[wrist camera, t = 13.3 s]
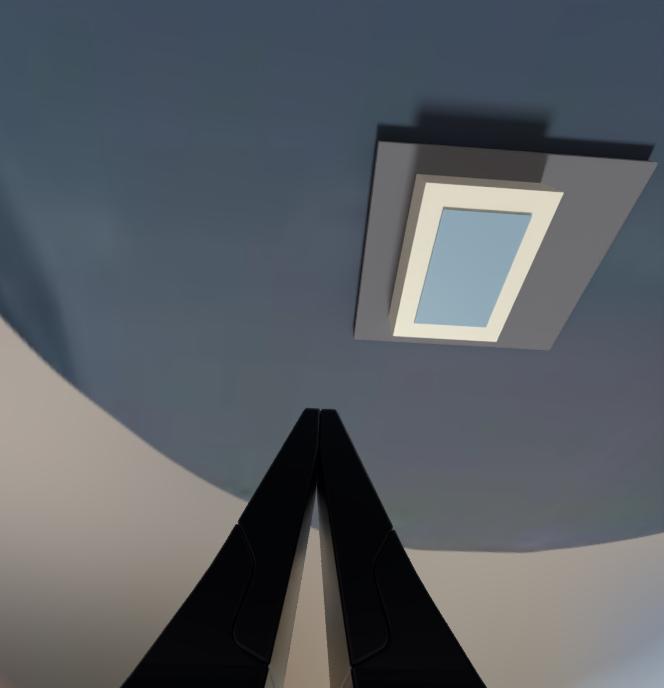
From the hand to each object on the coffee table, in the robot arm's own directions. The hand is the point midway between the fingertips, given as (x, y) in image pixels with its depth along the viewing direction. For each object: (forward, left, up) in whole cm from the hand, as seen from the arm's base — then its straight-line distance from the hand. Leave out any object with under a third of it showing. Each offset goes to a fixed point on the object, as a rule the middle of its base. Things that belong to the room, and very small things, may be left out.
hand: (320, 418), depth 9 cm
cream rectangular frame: (-10, 0, -10) cm, 14 cm away
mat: (-9, 0, -12) cm, 15 cm away
